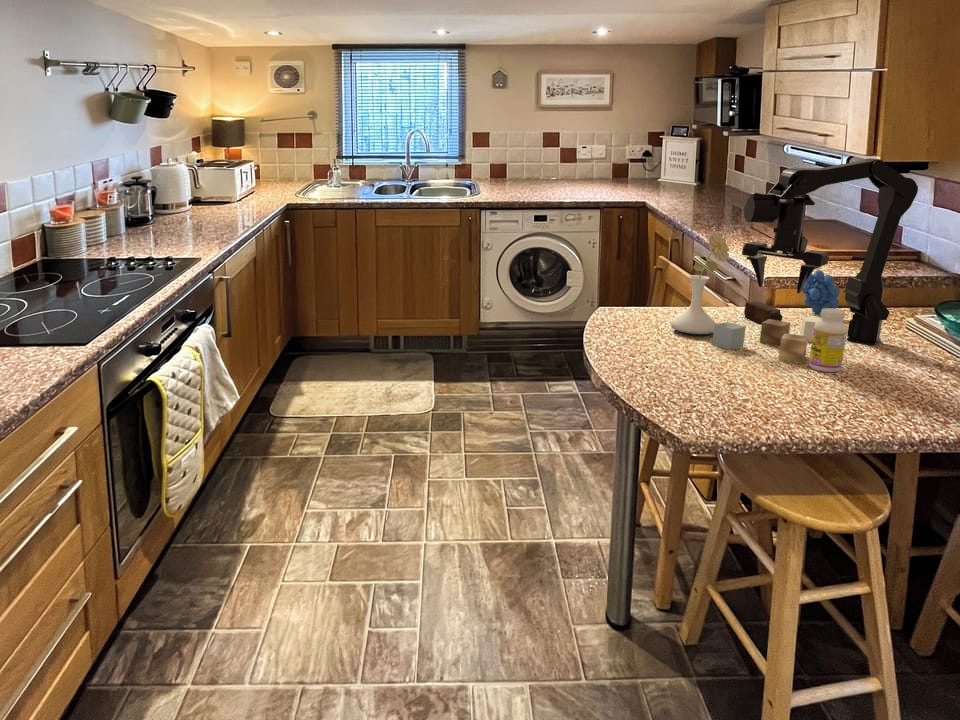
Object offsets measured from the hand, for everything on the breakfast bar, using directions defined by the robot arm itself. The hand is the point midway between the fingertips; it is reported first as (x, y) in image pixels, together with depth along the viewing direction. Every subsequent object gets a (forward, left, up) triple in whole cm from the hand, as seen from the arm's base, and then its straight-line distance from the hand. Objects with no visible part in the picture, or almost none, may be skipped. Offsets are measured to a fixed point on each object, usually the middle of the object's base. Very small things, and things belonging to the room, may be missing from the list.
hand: (779, 289), depth 209 cm
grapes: (+1, -37, -13) cm, 39 cm away
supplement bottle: (-17, +16, -13) cm, 27 cm away
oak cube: (-9, +13, -12) cm, 20 cm away
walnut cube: (-1, +2, -12) cm, 13 cm away
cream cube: (-7, -8, -12) cm, 16 cm away
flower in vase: (+17, +6, -13) cm, 22 cm away
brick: (+9, -16, -13) cm, 22 cm away
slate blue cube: (+6, +13, -12) cm, 19 cm away
